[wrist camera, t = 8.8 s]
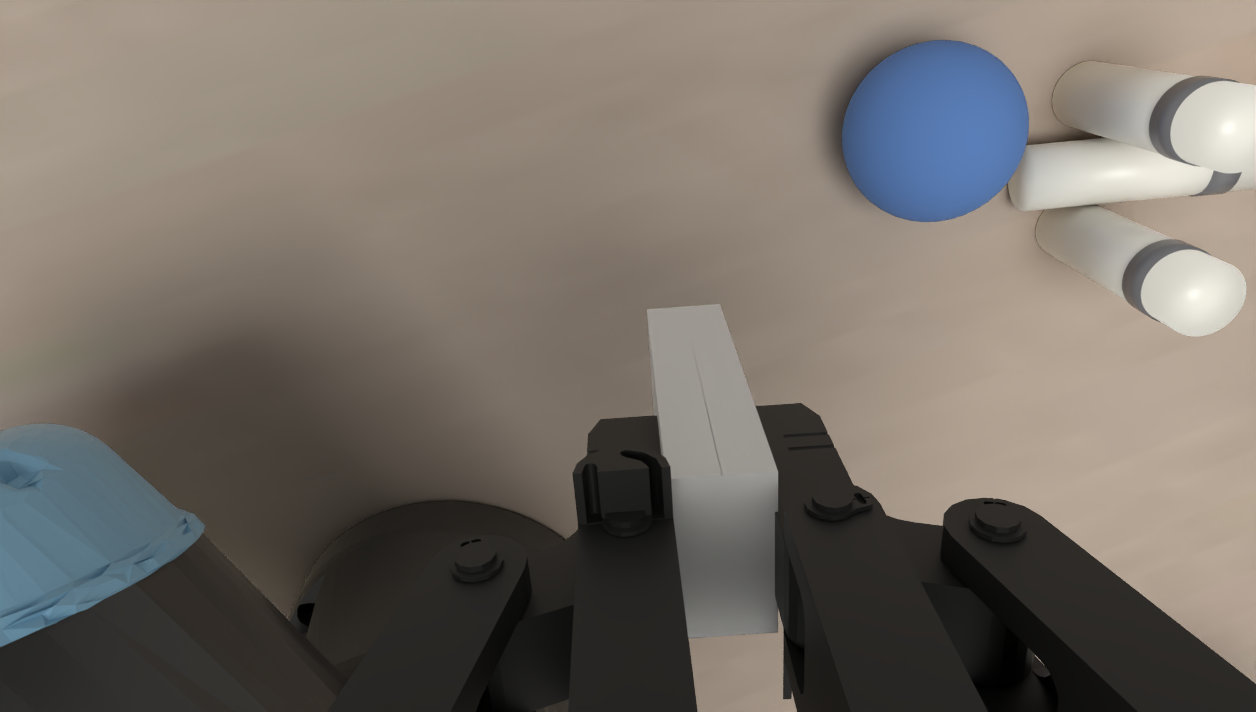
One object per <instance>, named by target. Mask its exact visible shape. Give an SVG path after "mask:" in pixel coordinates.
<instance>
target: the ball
mask: <svg viewBox="0 0 1256 712" xmlns="http://www.w3.org/2000/svg"><path fill="white" fill-rule="evenodd" d="M1028 130H1029V115H1028V108H1027V103H1026V99H1025V96H1024V93H1023V91H1022V89H1021V87H1020V85H1019V83H1018V81H1017V79H1016V78H1015V76H1014V75H1013V73H1012V72H1011V71H1010V70H1009V69H1008V68H1007V67H1006V66H1005V65H1004V63H1003V62H1002V61H1000V60H999V59H998V58H997V57H995V56H994V55H992V54H991V53H989V52H988V51H986V50H984V49H981V48H979V47H977V46H975V45H971V44H968V43H964V42H960V41H951V40H935V41H928V42H923V43H918V44H915V45H912V46H909V47H906V48H904V49H902V50H900V51H898V52H896V53H894V54H892V55H890V56H889V57H887V58H886V59H884V60H883V61H881V62H880V63H879V64H878V65H877V66H876V67H875V68H874V69H873V70H871V71H870V72H869V73H868V74H867V76H866V77H865V78H864V79H863V81H862V82H861V83H860V85H859V86H858V88H857V89H856V91H855V93H854V94H853V96H852V98H851V100H850V103H849V105H848V108H847V111H846V113H845V118H844V123H843V129H842V148H843V155H844V160H845V163H846V166H847V169H848V171H849V174H850V176H851V178H852V180H853V182H854V183H855V185H856V186H857V188H858V189H859V190H860V191H861V193H862V194H863V195H864V196H865V197H866V198H867V199H868V200H869V201H870V202H871V203H873V204H874V205H876V206H877V207H878V208H880V209H881V210H883V211H885V212H887V213H889V214H891V215H894V216H896V217H899V218H903V219H907V220H911V221H919V222H937V221H943V220H949V219H953V218H956V217H959V216H963V215H965V214H967V213H969V212H971V211H973V210H975V209H977V208H979V207H980V206H982V205H984V204H985V203H987V202H988V201H989V200H990V199H992V198H993V197H994V196H995V195H996V194H997V193H998V192H1000V191H1001V189H1002V188H1003V187H1004V186H1005V185H1006V184H1007V183H1008V181H1009V180H1010V179H1011V177H1012V176H1013V174H1014V172H1015V171H1016V169H1017V167H1018V165H1019V163H1020V161H1021V159H1022V157H1023V154H1024V151H1025V147H1026V143H1027V139H1028Z"/></svg>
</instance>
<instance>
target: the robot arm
mask: <svg viewBox="0 0 1256 712" xmlns="http://www.w3.org/2000/svg"><path fill="white" fill-rule="evenodd" d="M647 320H648V336H649V352H650V367H651V383H652V399H653V414H654V416H642V417H627V418H613V419H601V420H600V421H599V422H598V423H597V424H596V426H595V427H594V428H593V429H592V430H591V432H590V433H589V434H588V447H587V453H588V454H587V456H586V457H585V458H584V459H582V460H581V461H580V462H579V463H577V465H576V467H575V470H574V472H573V481H574V490H575V499H576V509H577V518H578V530H577V531H576V532H575V533H574V534H573V535H572V536H570V537H569V538H568V539H567V540H565V541H564V540H563V539H562V538H561V537H559V536H558V535H556V534H555V533H553V532H552V531H550V530H549V529H547V528H545V527H543V526H542V525H540V524H538V523H536V522H534V521H532V520H530V519H528V518H525V517H523V516H520V515H518V514H515V513H512V512H509V511H506V510H503V509H499V508H495V507H491V506H486V505H481V504H474V503H466V502H427V503H419V504H413V505H408V506H403V507H399V508H395V509H392V510H389V511H386V512H383V513H380V514H377V515H375V516H373V517H370V518H368V519H366V520H364V521H362V522H360V523H359V524H357V525H355V526H354V527H352V528H350V529H349V530H348V531H346V532H345V533H343V534H342V535H341V536H340V537H338V538H337V539H336V540H335V541H334V542H333V543H332V544H331V545H330V546H329V547H328V548H327V549H326V550H325V551H324V552H323V553H322V554H321V556H320V557H319V558H318V560H317V561H316V563H315V564H314V565H313V567H312V569H311V571H310V573H309V574H308V576H307V578H306V580H305V582H304V584H303V586H302V588H301V590H300V592H299V594H298V596H297V598H296V600H295V602H294V604H293V607H292V609H291V612H290V615H289V618H288V619H287V618H286V617H285V616H284V615H283V614H282V613H281V612H280V611H279V610H278V609H277V608H276V607H275V606H274V605H273V604H272V603H271V602H270V601H269V600H268V599H267V598H266V597H265V596H264V595H263V594H262V593H261V592H260V591H259V590H258V589H257V588H256V587H255V586H254V585H253V584H252V583H251V582H250V581H249V580H248V579H247V578H246V577H245V576H244V575H243V574H242V573H241V572H240V571H239V570H238V569H237V568H236V567H235V566H234V565H233V564H232V563H231V562H230V561H229V559H228V558H227V557H226V556H225V555H224V554H223V553H222V552H221V551H220V550H219V549H218V548H217V547H216V546H215V545H214V544H213V543H212V542H211V541H210V540H209V539H208V538H207V537H206V536H205V535H204V534H203V531H204V529H205V525H204V524H203V523H202V522H201V521H200V520H199V519H198V518H197V516H196V515H195V514H194V513H189V512H187V511H185V510H183V509H177V508H176V507H175V506H174V505H173V504H172V503H171V502H169V501H168V500H167V499H166V498H165V497H164V496H163V495H162V494H161V493H159V492H158V491H157V490H156V489H155V488H154V487H153V486H152V485H151V484H150V483H148V482H147V481H146V480H145V479H144V478H143V477H142V476H141V475H140V474H138V473H137V472H136V471H135V470H134V469H133V468H132V467H131V466H130V465H128V464H127V463H126V462H125V461H124V460H123V459H122V458H121V457H120V456H119V455H117V454H116V453H115V452H114V451H113V450H112V449H111V448H110V447H109V446H107V445H106V444H105V443H104V442H102V441H101V440H99V439H98V438H96V437H95V436H93V435H91V434H89V433H87V432H85V431H82V430H80V429H77V428H73V427H69V426H66V425H58V424H50V423H43V424H27V425H21V426H16V427H12V428H8V429H6V430H3V431H0V712H697V704H696V696H695V688H694V680H693V672H692V664H691V656H690V648H689V640H688V638H701V637H716V636H731V635H745V634H760V633H775V632H778V609H779V612H780V616H781V620H782V624H783V627H784V674H783V699H791V694H792V693H793V697H794V701H795V705H796V708H797V712H1256V684H1255V683H1254V682H1253V681H1251V680H1250V679H1249V678H1247V677H1246V676H1245V675H1244V674H1242V673H1241V672H1240V671H1238V670H1237V669H1236V668H1235V667H1233V666H1232V665H1231V664H1230V663H1228V662H1227V661H1226V660H1224V659H1223V658H1222V657H1221V656H1219V655H1218V654H1217V653H1215V652H1214V651H1213V650H1212V649H1210V648H1209V647H1208V646H1207V645H1205V644H1204V643H1203V642H1201V641H1200V640H1199V639H1198V638H1196V637H1195V636H1194V635H1192V634H1191V633H1190V632H1189V631H1187V630H1186V629H1185V628H1184V627H1182V626H1181V625H1180V624H1178V623H1177V622H1176V621H1175V620H1173V619H1172V618H1171V617H1169V616H1168V615H1167V614H1166V613H1164V612H1163V611H1162V610H1161V609H1159V608H1158V607H1157V606H1155V605H1154V604H1153V603H1152V602H1150V601H1149V600H1148V599H1146V598H1145V597H1144V596H1143V595H1141V594H1140V593H1139V592H1138V591H1136V590H1135V589H1134V588H1132V587H1131V586H1130V585H1129V584H1127V583H1126V582H1125V581H1123V580H1122V579H1121V578H1120V577H1118V576H1117V575H1116V574H1114V573H1113V572H1112V571H1111V570H1109V569H1108V568H1107V567H1106V566H1104V565H1103V564H1102V563H1100V562H1099V561H1098V560H1097V559H1095V558H1094V557H1093V556H1091V555H1090V554H1089V553H1088V552H1086V551H1085V550H1084V549H1083V548H1081V547H1080V546H1079V545H1077V544H1076V543H1075V542H1074V541H1072V540H1071V539H1070V538H1068V537H1067V536H1066V535H1065V534H1063V533H1062V532H1061V531H1060V530H1058V529H1057V528H1056V527H1054V526H1053V525H1052V524H1051V523H1049V522H1048V521H1047V520H1045V519H1044V518H1043V517H1042V516H1040V515H1038V514H1037V513H1035V512H1033V511H1032V510H1030V509H1028V508H1026V507H1025V506H1022V505H1018V504H1015V503H1012V502H1009V501H1006V500H1001V499H993V498H978V499H967V500H964V501H961V502H959V503H956V504H954V505H952V506H951V507H950V508H949V509H948V510H947V511H946V512H945V513H944V519H943V526H938V525H930V524H923V523H915V522H909V521H904V520H899V519H895V518H893V517H890V516H887V515H886V514H885V512H884V510H883V508H882V506H881V504H880V503H879V502H878V501H877V499H876V498H875V497H874V496H873V495H872V494H871V493H869V492H867V491H865V490H863V489H861V488H860V487H858V486H854V485H853V483H852V481H851V479H850V477H849V475H848V473H847V471H846V469H845V467H844V465H843V463H842V461H841V459H840V457H839V454H838V452H837V450H836V448H834V444H833V442H832V440H831V438H830V436H829V435H828V434H827V430H826V428H825V426H824V424H823V422H822V420H821V418H820V416H819V415H817V414H816V413H815V412H813V411H812V410H810V409H809V408H807V407H806V406H804V405H803V404H802V403H797V404H783V405H768V406H755V404H754V401H753V398H752V395H751V392H750V389H749V386H748V384H747V381H746V378H745V375H744V372H743V369H742V366H741V363H740V360H739V358H738V355H737V352H736V349H735V346H734V343H733V340H732V337H731V335H730V332H729V329H728V326H727V323H726V320H725V317H724V314H723V311H722V309H721V306H720V304H712V305H698V306H684V307H670V308H656V309H647ZM1035 655H1036V656H1037V657H1038V658H1039V659H1040V660H1041V661H1042V663H1043V664H1044V665H1045V666H1044V665H1043V664H1042V663H1041V662H1040V661H1039V660H1038V659H1037V658H1036V657H1035Z"/></svg>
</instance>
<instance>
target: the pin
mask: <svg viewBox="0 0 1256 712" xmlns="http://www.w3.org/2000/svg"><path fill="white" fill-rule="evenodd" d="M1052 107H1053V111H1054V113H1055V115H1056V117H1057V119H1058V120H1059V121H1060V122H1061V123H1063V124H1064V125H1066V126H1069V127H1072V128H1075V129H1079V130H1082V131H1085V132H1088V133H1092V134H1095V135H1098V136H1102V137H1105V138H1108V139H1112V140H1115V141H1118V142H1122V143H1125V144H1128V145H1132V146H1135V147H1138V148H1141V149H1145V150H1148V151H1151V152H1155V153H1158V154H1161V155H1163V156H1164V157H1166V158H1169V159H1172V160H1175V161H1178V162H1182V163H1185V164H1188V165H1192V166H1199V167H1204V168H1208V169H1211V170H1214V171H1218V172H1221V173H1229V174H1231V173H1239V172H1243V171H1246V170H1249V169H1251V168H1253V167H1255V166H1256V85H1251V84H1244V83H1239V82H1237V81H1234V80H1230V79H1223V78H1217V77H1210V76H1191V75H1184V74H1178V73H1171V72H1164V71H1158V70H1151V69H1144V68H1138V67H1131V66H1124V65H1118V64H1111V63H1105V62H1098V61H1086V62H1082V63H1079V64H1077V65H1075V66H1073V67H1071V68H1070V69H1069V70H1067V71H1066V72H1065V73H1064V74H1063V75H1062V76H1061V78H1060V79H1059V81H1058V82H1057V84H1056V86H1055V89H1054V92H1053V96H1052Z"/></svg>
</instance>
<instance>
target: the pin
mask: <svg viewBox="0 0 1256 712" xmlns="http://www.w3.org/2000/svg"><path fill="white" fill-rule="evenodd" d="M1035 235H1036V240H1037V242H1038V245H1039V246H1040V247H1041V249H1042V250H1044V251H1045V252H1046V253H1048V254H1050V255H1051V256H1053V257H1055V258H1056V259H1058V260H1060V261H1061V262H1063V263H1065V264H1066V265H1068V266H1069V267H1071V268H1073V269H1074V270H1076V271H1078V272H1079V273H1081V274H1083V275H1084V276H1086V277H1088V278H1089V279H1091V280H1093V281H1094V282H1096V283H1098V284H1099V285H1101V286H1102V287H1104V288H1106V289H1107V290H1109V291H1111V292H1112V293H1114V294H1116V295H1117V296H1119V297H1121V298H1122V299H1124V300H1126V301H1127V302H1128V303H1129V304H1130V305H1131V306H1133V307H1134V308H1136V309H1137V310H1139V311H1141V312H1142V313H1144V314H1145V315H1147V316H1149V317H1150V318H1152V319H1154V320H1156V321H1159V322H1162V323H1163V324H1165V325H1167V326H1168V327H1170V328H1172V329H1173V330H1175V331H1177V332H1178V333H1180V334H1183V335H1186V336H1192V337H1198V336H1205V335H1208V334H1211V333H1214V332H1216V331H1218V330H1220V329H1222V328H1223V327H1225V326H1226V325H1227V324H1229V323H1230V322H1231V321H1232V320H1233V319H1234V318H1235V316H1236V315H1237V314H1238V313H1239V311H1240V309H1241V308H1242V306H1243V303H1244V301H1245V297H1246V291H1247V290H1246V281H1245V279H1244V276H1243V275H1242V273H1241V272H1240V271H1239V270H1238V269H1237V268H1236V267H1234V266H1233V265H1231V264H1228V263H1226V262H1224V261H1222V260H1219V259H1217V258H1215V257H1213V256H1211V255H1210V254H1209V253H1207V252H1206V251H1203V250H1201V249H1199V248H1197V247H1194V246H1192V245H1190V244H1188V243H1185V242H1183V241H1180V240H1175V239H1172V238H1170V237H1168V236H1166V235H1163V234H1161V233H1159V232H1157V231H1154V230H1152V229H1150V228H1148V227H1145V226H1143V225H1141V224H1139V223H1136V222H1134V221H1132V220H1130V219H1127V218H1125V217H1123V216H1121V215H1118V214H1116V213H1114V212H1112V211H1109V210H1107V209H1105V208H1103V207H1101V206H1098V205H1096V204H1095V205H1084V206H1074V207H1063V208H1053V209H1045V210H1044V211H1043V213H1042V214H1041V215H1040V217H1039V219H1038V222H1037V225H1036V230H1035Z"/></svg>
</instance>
